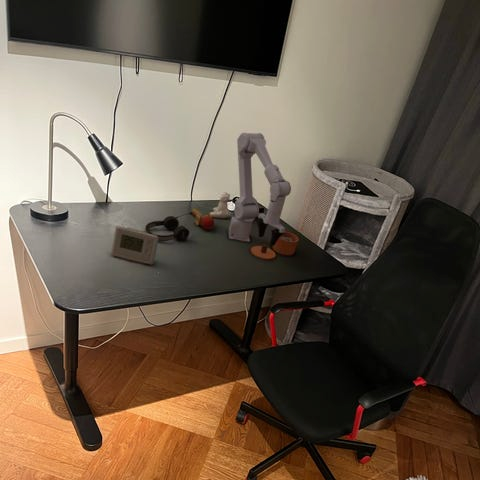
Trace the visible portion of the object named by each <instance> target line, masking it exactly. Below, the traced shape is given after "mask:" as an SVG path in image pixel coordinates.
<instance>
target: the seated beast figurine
mask: <svg viewBox="0 0 480 480" xmlns="http://www.w3.org/2000/svg"><path fill="white" fill-rule="evenodd" d="M230 197H231V194H230V193H228V192H223V194H221V195H220V197H219V203H218V205H217V206H216V207H213V208H212V211H211V212H209V213H210V214H211V216H212V218H213V219H226V218H228V217H229V216H230V210H229V207H228V205H229V204H228V202H229V200H230Z"/></svg>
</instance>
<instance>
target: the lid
mask: <svg viewBox="0 0 480 480" xmlns="http://www.w3.org/2000/svg"><path fill="white" fill-rule="evenodd" d="M250 252H251V254H252V255H254V256H255V257H256V258H259V259H263V260H273V259H275V258H276V256H277V255H276V251H275V250H274V249H271V248H269V245H268V244H266V243H263V244H262V245H254V246H252V247H251V248H250Z"/></svg>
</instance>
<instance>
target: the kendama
mask: <svg viewBox="0 0 480 480" xmlns="http://www.w3.org/2000/svg"><path fill="white" fill-rule="evenodd" d="M191 212H193V214H192V215H193V216H194V222H195V224H196V226H201V228H202V229H204V230H206V231H210V230H212V229H213V228H214V226H215V220H214V218H213V217H212V216H211V214H210V212H209V213H207V214H206V215H203V214H202V213H201V212H200V211H199V209H197V208H193V209H192V210H191Z"/></svg>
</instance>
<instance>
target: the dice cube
mask: <svg viewBox="0 0 480 480" xmlns="http://www.w3.org/2000/svg"><path fill="white" fill-rule="evenodd" d="M281 239H283V240H286V241H292V238H287V237H283V236H281Z"/></svg>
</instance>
